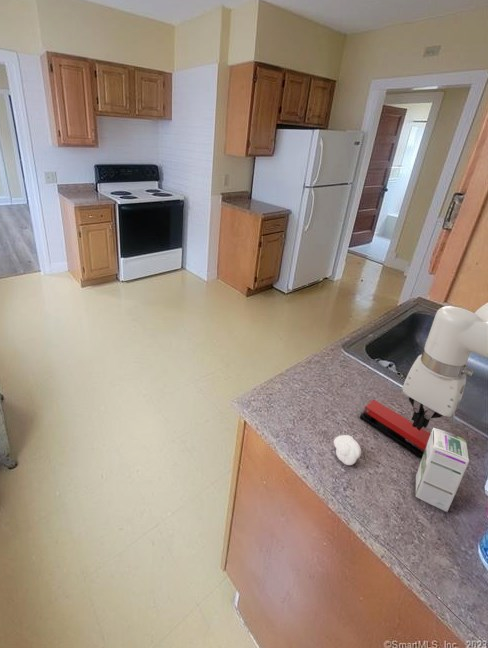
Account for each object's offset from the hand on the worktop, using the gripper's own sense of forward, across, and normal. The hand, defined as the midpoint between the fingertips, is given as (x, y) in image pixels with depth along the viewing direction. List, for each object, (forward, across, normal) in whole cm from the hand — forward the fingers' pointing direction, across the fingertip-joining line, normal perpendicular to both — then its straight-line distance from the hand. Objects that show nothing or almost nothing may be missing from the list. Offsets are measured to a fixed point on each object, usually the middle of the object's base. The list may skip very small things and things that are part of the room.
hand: (418, 425), depth 76 cm
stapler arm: (+4, +4, 0) cm, 5 cm away
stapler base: (+6, +4, 0) cm, 7 cm away
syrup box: (+6, -7, +10) cm, 14 cm away
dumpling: (+7, +8, +16) cm, 19 cm away
